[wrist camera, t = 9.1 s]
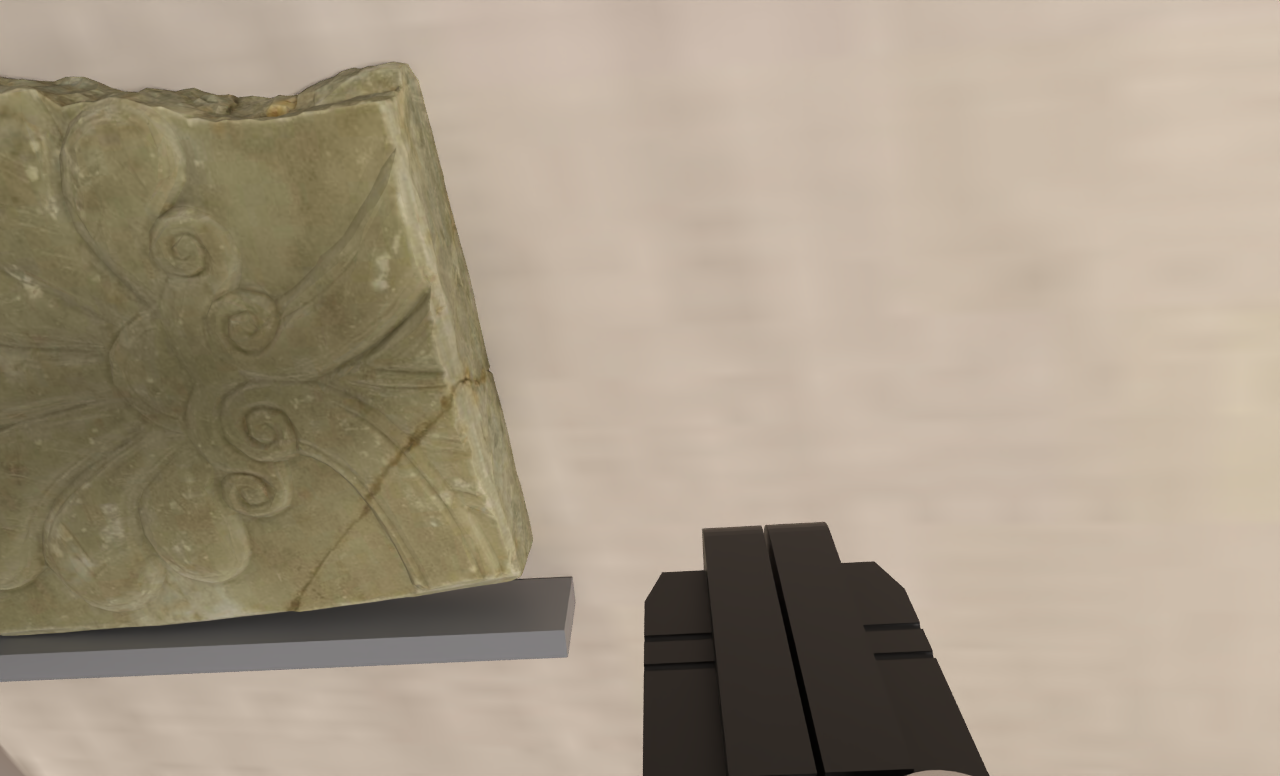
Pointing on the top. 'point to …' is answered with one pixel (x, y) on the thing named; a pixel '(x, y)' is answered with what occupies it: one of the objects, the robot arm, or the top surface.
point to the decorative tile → (238, 359)
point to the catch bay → (317, 637)
